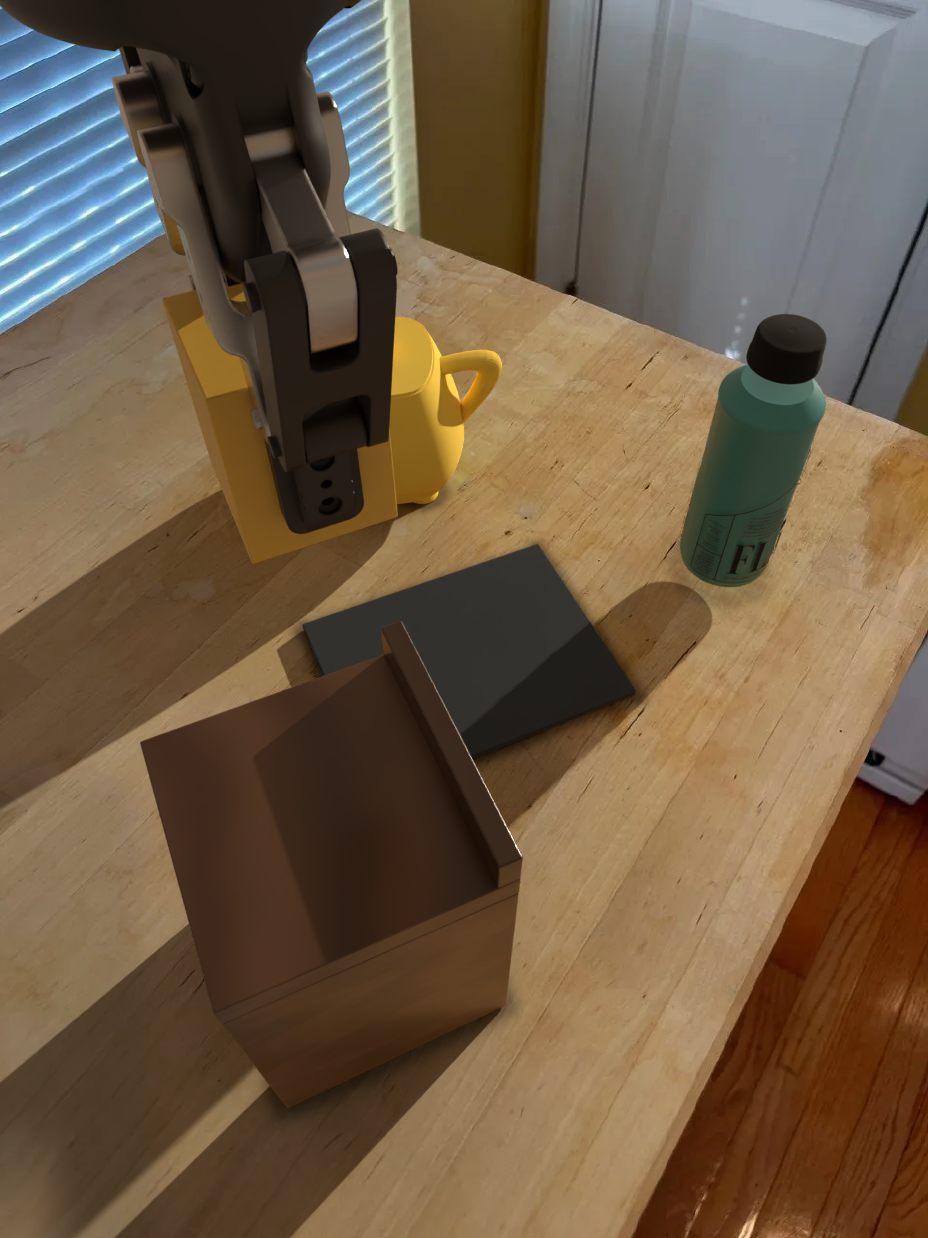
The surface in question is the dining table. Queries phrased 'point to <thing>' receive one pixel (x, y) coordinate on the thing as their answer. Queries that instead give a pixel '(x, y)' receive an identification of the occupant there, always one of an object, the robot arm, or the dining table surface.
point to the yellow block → (257, 441)
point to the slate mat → (489, 647)
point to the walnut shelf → (339, 870)
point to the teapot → (431, 409)
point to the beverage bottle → (755, 453)
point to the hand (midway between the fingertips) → (296, 458)
